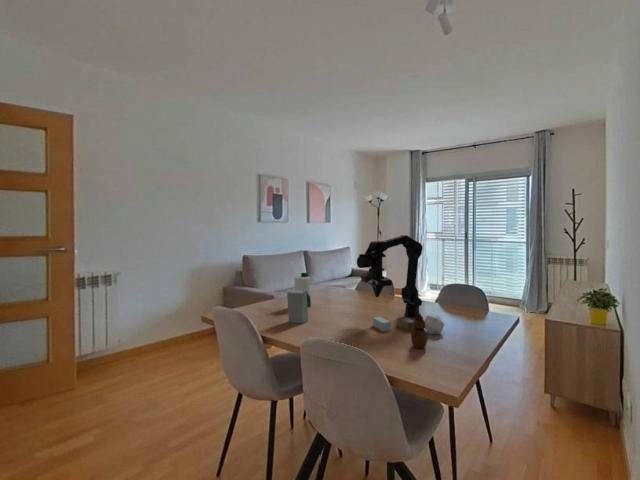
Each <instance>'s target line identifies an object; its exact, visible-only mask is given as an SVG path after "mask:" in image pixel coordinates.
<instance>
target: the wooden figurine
mask: <svg viewBox="0 0 640 480" xmlns="http://www.w3.org/2000/svg"><path fill="white" fill-rule="evenodd" d="M413 321H414V322H413V326H414V328H413V329H412V331H410V332H411V333H410V338H411V344H412V346H413V347H415V348H416V349H424V348H426V346H427V343H428V332H427V330H426V329H425V319H424V318H423V316H422V314H420V310H419V311H418V313H417V309H416V315H415V317H414V320H413Z"/></svg>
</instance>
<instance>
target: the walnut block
mask: <svg viewBox="0 0 640 480" xmlns="http://www.w3.org/2000/svg"><path fill="white" fill-rule="evenodd" d="M413 322H414V320H412V319H410V318H408V317H405V316H398V317H396V326H397V327H399V328H401V329H403V330H405V331H406V332H412V329H413V328H414V326H413Z"/></svg>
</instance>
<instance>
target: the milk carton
mask: <svg viewBox="0 0 640 480" xmlns="http://www.w3.org/2000/svg"><path fill="white" fill-rule="evenodd" d="M308 274H309V273H308V272H302V273H301V274H300V275H299V276H294V277H293V280H294V290H302V291H306V293H307V308H310V307H311V305H312V303H311V302H312V301H311V281H312V276H309V275H308Z"/></svg>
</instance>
